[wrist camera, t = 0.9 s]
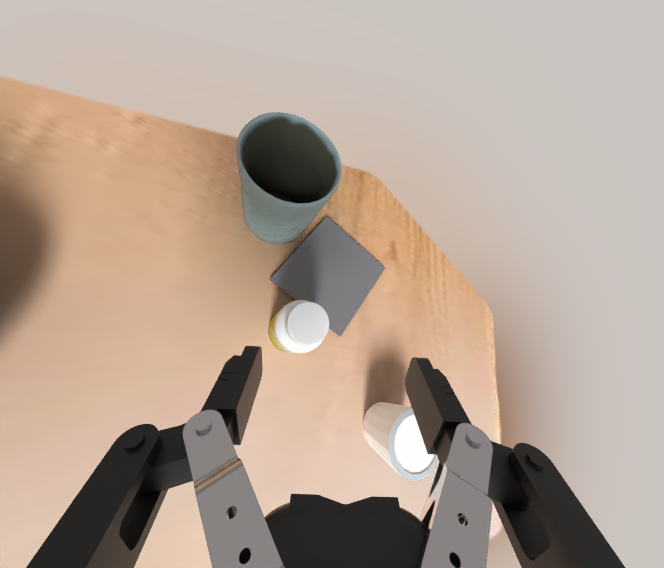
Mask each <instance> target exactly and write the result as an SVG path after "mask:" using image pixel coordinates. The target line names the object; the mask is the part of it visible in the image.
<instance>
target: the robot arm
mask: <svg viewBox="0 0 664 568" xmlns="http://www.w3.org/2000/svg"><path fill="white" fill-rule="evenodd" d="M261 376H262V349H261V347H257V346H246V347H245V348H244V351H243V353H242V355H241V356H235V355H234V356H233V357H232V358H231V359H229V360H228V361H227V362H226V363H225V365H224V367H223V369H222V371H221V373H220V375H219V377H218V380H217V381H216V383H215V385H214V387H213V389H212V391H211V393H210V395H209V397H208V399H207V400H206V402H205V404H204V406H203V408H202V410H201V411H200V412H199V413H197V414H195V415H194V416H193V417H191V418H190V419H189V420H188V422H187V423H185V424H183V425H180V426H176V427H172V428H168V429H164V430H160V431H158V429H157V428H156V427H155V426H154V425H151V424H142V425H138V426H135V427H133V428H131V429H129V430H127V431H126V432H124V433H123V434H122V435H121V436H120V437H119V438H118V439H117V440H116V441H115V442H114V444H113V445H112V446H111V448H110V449H109V451H108V452H107V453H106V455H105V456H104V458H103V459H102V461H101V462H100V463H99V465H98V466H97V468H96V469H95V471H94V472H93V473H92V475H91V476H90V478H89V479H88V480H87V482H86V483H85V485H84V486H83V488H82V489H81V490H80V492H79V493H78V495H77V496H76V498H75V499H74V500H73V502H72V503H71V505H70V506H69V508H68V509H67V510H66V512H65V513H64V515H63V516H62V517H61V519H60V520H59V522H58V523H57V525H56V526H55V527H54V529H53V530H52V532H51V533H50V535H49V536H48V537H47V539H46V540H45V542H44V543H43V545H42V546H41V547H40V549H39V550H38V552H37V553H36V554H35V556H34V557H33V559H32V560H31V562H30V563H29V564H28V566H27V567H26V568H134V566H135V563H136V561H137V559H138V557H139V554H140V552H141V550H142V548H143V545H144V543H145V541H146V538H147V536H148V534H149V532H150V529H151V527H152V525H153V522H154V520H155V518H156V516H157V513H158V511H159V509H160V507H161V504H162V502H163V500H164V497H165V495H166V493H167V491H168V489H169V488H172V487H175V486H178V485H181V484H185V483H188V482H191V481H193V482H194V488H195V493H196V498H197V502H198V507H199V511H200V515H201V520H202V524H203V528H204V533H205V537H206V541H207V546H208V550H209V554H210V559H211V563H212V568H486V563H487V553H488V543H489V533H490V523H491V513H492V501H493V503H494V505H495V508H496V510H497V512H498V515H499V517H500V519H501V521H502V524H503V526H504V528H505V531H506V533H507V535H508V537H509V539H510V542H511V544H512V546H513V548H514V551H515V553H516V556H517V558H518V560H519V562H520V565H521V567H522V568H625V567H624V565H623V564H622V562H621V561H620V559H619V558H618V556H617V555H616V554H615V552H614V551H613V549H612V548H611V547H610V545H609V544H608V542H607V541H606V539H605V538H604V536H603V535H602V533H601V532H600V531H599V529H598V528H597V526H596V525H595V523H594V522H593V521H592V519H591V518H590V516H589V515H588V514H587V512H586V510H585V509H584V508H583V506H582V505H581V503H580V502H579V500H578V499H577V497H576V496H575V495H574V493H573V492H572V491H571V489H570V487H569V486H568V485H567V483H566V482H565V480H564V479H563V477H562V476H561V474H560V473H559V472H558V470H557V469H556V467H555V466H554V464H553V463H552V462H551V460H550V459H549V458H548V457H547V456H546V455H545V454H544V453H542V452H541V451H540V450H538V449H537V448H535V447H533V446H531V445H529V444H526V443H519V444H517V445H516V446H515V447H514V448H513V449H511V448H509V447H506V446H503V445H500V444H498V443H495V442H492V441H490V439H489V438H488V436H487V435H486V434H485V433H484V432H483V431H482V430H480V429H479V428H478V427H476V426H474V425H472V424H471V422H470V420H469V419H468V417H467V415H466V413H465V411H464V409H463V408H462V406H461V404H460V402H459V400H458V398H457V397H456V395H455V393H454V391H453V389H452V388H451V386H450V384H449V382H448V380H447V378H446V377H445V376H444V375H443V374H442V373H441V372H440V371H439V370H438V369H433V367H432V365H431V363H430V361H429V359H427V358H415V357H413V358H412V359H411V362H410V365H409V368H408V371H407V374H406V378H405V388H406V391H407V394H408V397H409V400H410V403H411V406H412V409H413V412H414V415H415V418H416V421H417V424H418V427H419V430H420V433H421V436H422V438H423V441H424V444H425V447H426V450H427V453H428V454H436V455H437V457H438V459H439V462H438V464H437V467H436V470H435V473H434V477H433V480H432V483H431V486H430V490H429V493H428V496H427V499H426V502H425V505H424V508H423V510H422V512H421V515H420V517H419V519H418V518H417V517H416V516H414V515H413V514H412V513H410V512H409V511H407V510H405V509H403V508H400V507H399V502H398V498H397V497H369V498H366V499H363V500H360V501H357V502H353V503H350V504H341V503H339V502H336V501H333V500H330V499H328V498H325V497H322V496H320V495H309V494H291V499H290V503H288V504H284V505H282V506H280V507H278V508H276V509H275V510H273V511H272V512H270V513H269V514H268V515H267V516H266V517H264V516H263V513H262V510H261V508H260V505H259V503H258V500H257V498H256V495H255V493H254V490H253V488H252V485H251V483H250V480H249V478H248V475H247V473H246V470H245V468H244V465H243V463H242V461H241V459H239V458H238V456H237V454H236V451H235V449H234V446H233V445H241V441H242V438H243V435H244V432H245V429H246V425H247V422H248V419H249V416H250V413H251V409H252V406H253V403H254V400H255V397H256V393H257V390H258V387H259V384H260V381H261Z"/></svg>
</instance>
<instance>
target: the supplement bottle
mask: <svg viewBox="0 0 664 568" xmlns="http://www.w3.org/2000/svg"><path fill="white" fill-rule="evenodd" d="M328 329H329V318H328V315H327V313H326V311H325V310H324V309H323V308H322V307H321V306H320V305H318V304H316V303H314V302H310V301H306V300H296V301H293V302H290V303H288V304H287V305H285V306H284V307H283V308H282V309H281V310H280V311H278V313H277V314H275V316H274V317H273V318H272V320H271V322H270V324H269V330H268V332H269V337H270V340H271V342H272V343H273V345H274V346H275V347H276V348H278V349H279V350H281V351H284V352H293V353H305V352H309V351H311V350H313V349H315V348H316V347H318V346H319V345H320V344H321V342H322V341H323V339H324V337H325V336H326V334H327V332H328Z"/></svg>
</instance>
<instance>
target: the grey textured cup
mask: <svg viewBox="0 0 664 568" xmlns="http://www.w3.org/2000/svg"><path fill="white" fill-rule="evenodd" d="M237 159H238V165H239V172H240V176H241V182H242V185H241V193H242V200H243V214H244V219H245V222H246V224H247V226H248V227H249V229H250V230H251V231H252V232H253V233H254V234H255V235H256V236H257V237H259V238H260V239H262V240H264V241H266V242H269V243H273V244H285V243H289V242H291V241H293V240H295V239H296V238H297V237H298V236H299V235H300V234H301V233H302V232H303V231H304V229H305V228H306V227H307V226H308V225H309V223H310V222H311V220H312V219H313V218H314V217H315V216H316V215H317V214H318V212H319V211H320V210H321V208H322V207H323V206H324V204H325V203H326V202H327V201H328V199H329V198H330V197H331V196H332V195H333V193H334V192H335V190H336V189H337V187H338V185H339V182H340V179H341V171H342V170H341V162H340V158H339V155H338V152H337V150H336V148H335V146H334V145H333V143H332V142H331V141H330V139H329V138H328V137H327V136H326V135H325V133H323V131H321V130H320V129H319V128H318V127H316V126H315V125H314V124H312V123H310V122H309V121H307V120H305V119H303V118H301V117H298V116H295V115H291V114H287V113H267V114H263V115H260V116H258V117H256V118H254V119H253V120H251V121H250V122H249V123H248V124H247V125H246V126H245V127H244V128H243V129H242V131H241V132H240V135H239V137H238V141H237Z"/></svg>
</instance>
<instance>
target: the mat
mask: <svg viewBox="0 0 664 568" xmlns="http://www.w3.org/2000/svg"><path fill="white" fill-rule="evenodd" d="M384 269H385V267H384V266H383V265H381V264H380V263H379V262H378V261H377V260H376V259H375V258H374V257H372V256H371V255H370V254H369V253H368V252H367V251H366V250H365V249H363V248H362V247H361V246H360V245H359V244H358V243H357V242H356V241H354V240H353V239H352V238H351V237H350V236H349V235H348V234H347V233H345V232H344V231H343V230H342V229H341V228H340V227H339V226H338V225H336V224H335V223H334V222H333V221H332V220H331V219H330V218H329V217H327V216H326V218H325V219H324V220H323V221H322V222H321V223H320V224H319V225H318V226H317V228H316V229H315V230H314V231H313V232H312V233H311V234H310V235H309V236H308V237H307V239H306V240H305V241H304V242H303V243H302V244H301V245H300V246H299V247H298V249H297V250H296V251H295V252H294V253H293V254H292V255H291V256H290V257H289V258H288V260H287V261H286V262H285V263H284V264H283V265H282V266H281V267H280V268H279V270H278V271H277V272H276V273H275V274H274V275H273V276H272V277H271V278H270V280H271V281H272V282H273V283H274V284H276V285H277V286H278V287H279V288H281V289H282V290H283V291H284V292H285V293H287V294H288V295H289V296H290V297H292V298H293V299H294V300H295V301H296V300H306V301H310V302H314V303H316V304H318V305H320V306H321V307H322V308H323V309H324V310H325V311H326V313H327V315H328V318H329V328H330V329H331V330H332V331H333V332H335V333H336V334H337V335H338V336H341V335H342V333H343V332H344V330H345V329H346V327H347V326H348V324H349V323H350V321H351V320H352V318H353V317H354V315H355V314H356V312H357V310H358V309H359V307H360V306H361V304H362V303H363V301H364V300H365V298H366V297H367V295H368V294H369V292H370V291H371V289H372V287H373V286H374V284H375V283H376V281H377V280H378V278H379V277H380V275H381V274H382V272H383V271H384Z"/></svg>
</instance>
